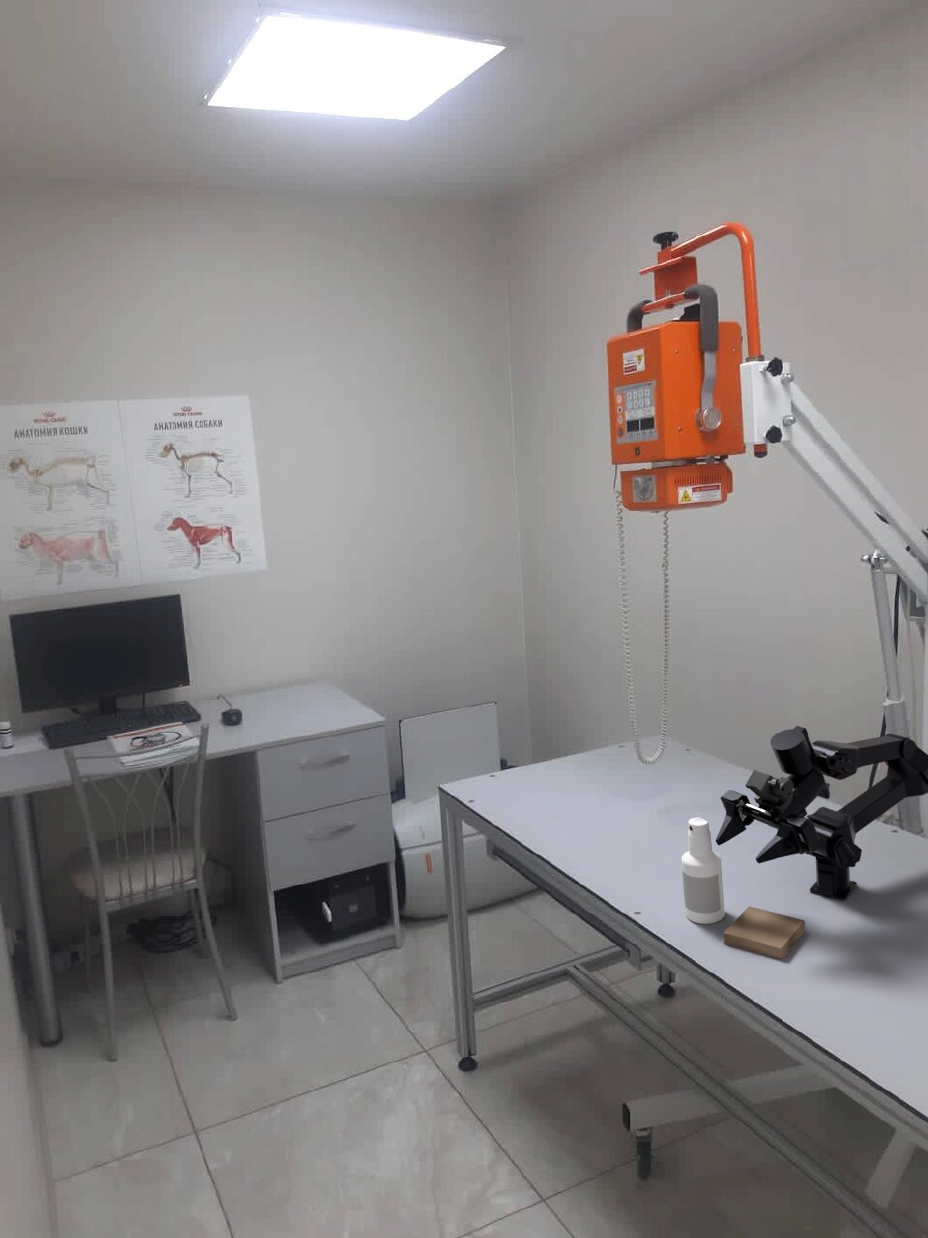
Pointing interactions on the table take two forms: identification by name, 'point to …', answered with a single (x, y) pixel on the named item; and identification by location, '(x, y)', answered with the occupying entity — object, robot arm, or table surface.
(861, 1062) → the table surface
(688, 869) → the spray bottle
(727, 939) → the brown flat square block
